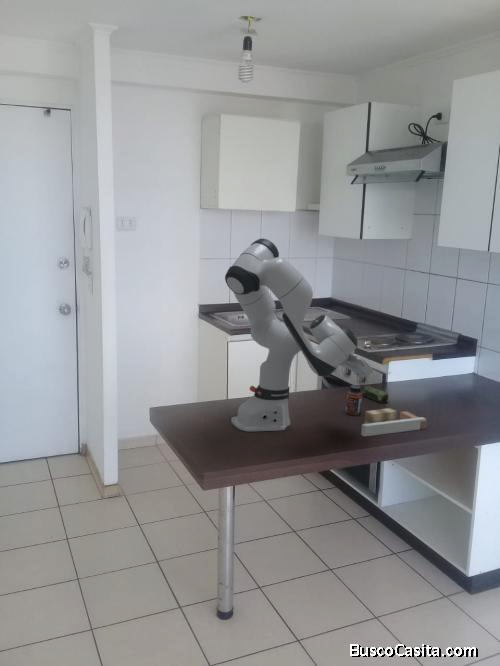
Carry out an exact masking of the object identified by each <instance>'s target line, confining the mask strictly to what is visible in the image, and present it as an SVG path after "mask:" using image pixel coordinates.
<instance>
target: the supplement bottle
mask: <svg viewBox="0 0 500 666" xmlns="http://www.w3.org/2000/svg"><path fill="white" fill-rule="evenodd" d="M362 401H363V392H362V391H361V386H359V385H351V386H350V390H348V391H347V397H346V407H345V414H347V415H349V416H359V415H361V412H362V411H361V410H362V403H363V402H362Z"/></svg>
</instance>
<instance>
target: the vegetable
mask: <svg viewBox="0 0 500 666" xmlns="http://www.w3.org/2000/svg"><path fill="white" fill-rule="evenodd" d="M362 396H363V397H365V398H368V399H370V400H373V401H376V402H378V403H380V404H381V403H386V402H387V401H389V394H388V392H387V391H383V390H380V389H378V388H375V387H372V386H370V385H367V386H364V388H362Z"/></svg>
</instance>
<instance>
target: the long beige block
mask: <svg viewBox="0 0 500 666" xmlns="http://www.w3.org/2000/svg"><path fill="white" fill-rule="evenodd" d="M397 416H398V411H397V410H396V409H394V408H391V407H388V408H380V409H374V410H373V409H372V410H365V415H364V423H363V424H369V423H377V422H386V421H394V420H398V417H397Z"/></svg>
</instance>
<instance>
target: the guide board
mask: <svg viewBox="0 0 500 666" xmlns="http://www.w3.org/2000/svg"><path fill="white" fill-rule="evenodd" d="M399 415H400V416H399V419H396V420H394V421H386V422H377V423H369V424H364V423H363V424H361V431H360V432H361V433H360V435H361V436H362V437H365V438H366V437H373V436H379V435H380V436H381V435H387V434H394V433H402V432H411V431H417V430H425V429H427V422H428V421H427V418H425V417H424V416H422V417H420V416H417V415H415V414H413V413H411V412H409V411H400V414H399Z"/></svg>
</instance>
